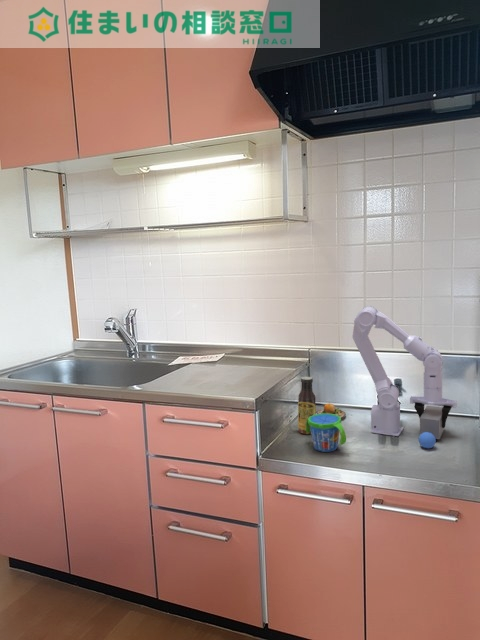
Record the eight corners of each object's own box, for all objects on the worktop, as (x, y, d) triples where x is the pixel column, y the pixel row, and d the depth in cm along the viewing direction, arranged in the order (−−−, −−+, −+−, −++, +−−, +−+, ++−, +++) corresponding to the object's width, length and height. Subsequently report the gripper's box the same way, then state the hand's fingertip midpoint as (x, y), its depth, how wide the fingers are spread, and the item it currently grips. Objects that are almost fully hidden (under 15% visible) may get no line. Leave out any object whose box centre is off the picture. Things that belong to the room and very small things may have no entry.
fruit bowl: (350, 415, 191) (349, 396, 190) (340, 425, 181) (339, 405, 180) (320, 411, 197) (320, 393, 196) (309, 421, 187) (308, 402, 186)
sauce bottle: (296, 434, 174) (293, 379, 171) (301, 428, 180) (298, 375, 177) (314, 435, 172) (312, 380, 169) (318, 429, 177) (316, 375, 175)
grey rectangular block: (420, 436, 162) (419, 418, 161) (427, 423, 173) (426, 405, 172) (439, 439, 159) (439, 420, 158) (445, 425, 170) (445, 407, 169)
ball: (419, 428, 158) (420, 440, 160) (417, 437, 154) (418, 450, 156) (436, 429, 156) (436, 442, 158) (434, 439, 152) (435, 452, 154)
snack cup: (297, 445, 165) (296, 416, 163) (321, 437, 170) (320, 408, 169) (329, 460, 152) (328, 429, 150) (354, 451, 157) (353, 420, 155)
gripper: (407, 387, 164) (408, 426, 166) (454, 392, 157) (454, 432, 159) (412, 382, 170) (412, 420, 172) (457, 386, 163) (457, 425, 165)
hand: (433, 425), depth 166 cm, fingers closed on grey rectangular block, 6 cm apart
